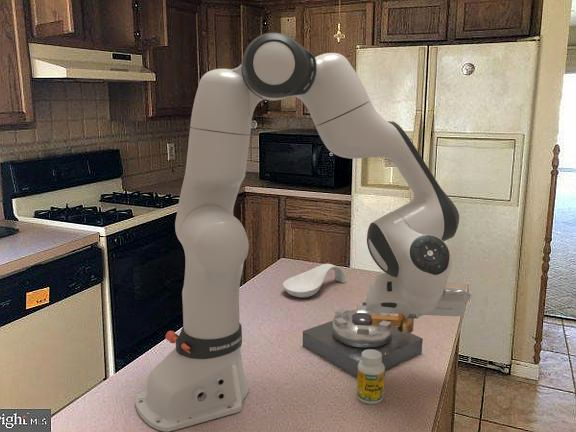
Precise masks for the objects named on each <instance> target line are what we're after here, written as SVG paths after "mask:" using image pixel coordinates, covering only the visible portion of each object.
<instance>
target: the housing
mask: <svg viewBox="0 0 576 432" xmlns="http://www.w3.org/2000/svg"><path fill="white" fill-rule="evenodd" d="M397 328H398V326H393V328H392V339H391V340H390V341H389V342H388V343H387V344H385V345H382V346H378V347H367V348H366V347H355V346H351V345H347V344H344V343H342V342H340V341H338V340H337V339H336V338H335V337H334V336H333V320H330V321H328V322H325V323H322V324H319V325H316V326H314V327H311V328H308V329H305V330H302V347H303V348H305V349H307V350H308V351H310V352H311V353H313V354H315V355H317V356H318V357H320V358H321V359H324V360H325V361H327V362H329V363H330V364H332V365H333V366H335V367H337V368H339V369H340V370H342V371H343V372H345V373H347V374H348V375H350V376H352V377H354V378H356V379H357V376H358V364H359V362H360V361H361V360H362V359H361V355H362V352H363V351H364V350H368V349H372V350H377V351H379V352H380V353H381V354H382V361H381V362H382V363H383V364H384V366H385V372H386V371H388V370H391V369H392V368H395V367H396V366H399V365H401V364H403V363H405V362H408V361H409V360H412V359H414V358H416V357H418V356H421V355H423V353H422V351H423V340H424V339H423V337H421V336H419V335H415V334H413V332H411V333H403V332H400V331H399V330H398V329H397Z"/></svg>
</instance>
